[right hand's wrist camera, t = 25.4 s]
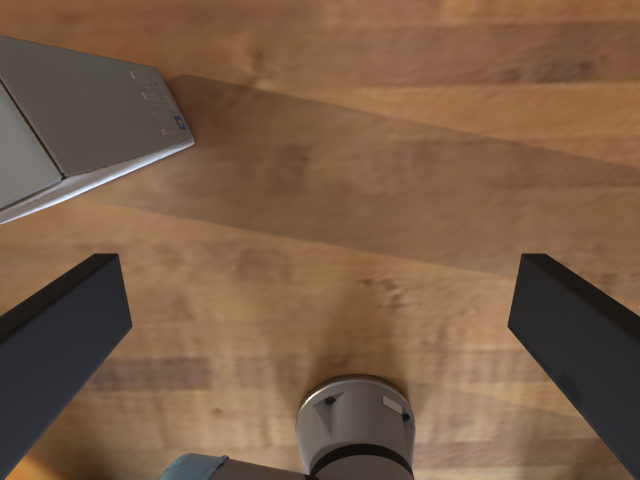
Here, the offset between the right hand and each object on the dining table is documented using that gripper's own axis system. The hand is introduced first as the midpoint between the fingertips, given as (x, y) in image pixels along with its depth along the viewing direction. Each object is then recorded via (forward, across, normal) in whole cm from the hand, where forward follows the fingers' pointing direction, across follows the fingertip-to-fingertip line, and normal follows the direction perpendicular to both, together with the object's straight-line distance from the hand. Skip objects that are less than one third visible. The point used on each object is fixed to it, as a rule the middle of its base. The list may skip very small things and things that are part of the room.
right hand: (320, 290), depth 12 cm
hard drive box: (+27, +21, -3) cm, 34 cm away
